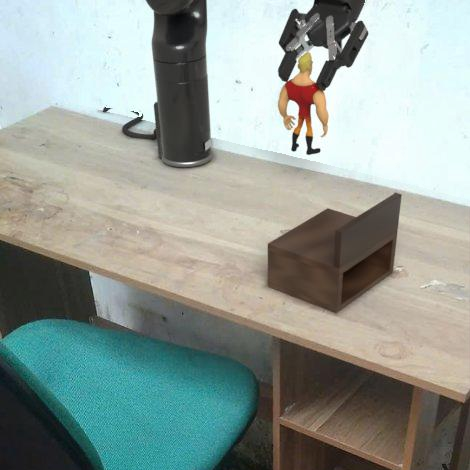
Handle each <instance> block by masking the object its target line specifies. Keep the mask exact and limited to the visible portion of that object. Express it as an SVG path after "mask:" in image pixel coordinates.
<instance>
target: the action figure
mask: <svg viewBox="0 0 470 470" xmlns="http://www.w3.org/2000/svg"><path fill="white" fill-rule="evenodd" d="M312 59H313V58H312V54H311V52H310V51H308V52H307V51H305V52H304V53H303V54H302V55H301V56H300V57H299V58H298V59H297V63H298V64H297V69H298V70H299V72H298V73H297V74H296V75H295V76H294V77H293V78H291V79H289V80H288V81H287V82H285V83H284V84H283V86H282V87H281V89H280V92H279V94H278V95H279V97H278V101H277V108H278V112H279V114H280V116H281V117H282V121H283V125H284V128H285V129H286V130H287V131H292V129H293V131H292V136H291V142H292V143H291V148H290V150H291V152H293V153H294V152H297V149H298V148H299V147H300V144H299V143H297V142H298V139H299V137H300V133H301V130H302V128H303V126H304V123H305V126H306V132H305V143H306V147H307V148H306V151H305V152H306V153H305V154H306V155H307V156H311V155H317V154H320V153H321V148H320V147H316V148H313V147H312V146H313V145H312V144H313V142H314V141H313V139H314V132H313V126H312V114H311V113H312V109H311V108H312V105H313V106H315V114H316V117H317V118H318V120H319V122H320V123H321V126H322V130H323V133H322V135H320V138H324V137H326V135H327V134H328V130H329V126H328V123H329V111H328V109H327V99H326V95H325V91H322V90H319V88H318V87H317V85H316V81H314V80H313V79H312V78H311V75H312V72H313V64H314V61H313V60H312ZM290 101H292V102H294V103H296V105H297V106H298V114H297V117H298V118H296V117H295V116H293V115H288V112H287V111H288V110H287V109H288V104H289V102H290ZM296 119H297V126H296V123H295V122H294V121H296ZM293 120H294V121H293ZM294 126H296V127H294Z"/></svg>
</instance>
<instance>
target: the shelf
mask: <svg viewBox="0 0 470 470" xmlns="http://www.w3.org/2000/svg"><path fill="white" fill-rule="evenodd" d="M402 195H403V194H401V193H398V192H394V193H392V194H391V195H390V196H388V197H386V198H385V199H383V200H382V201H379V203H377V204H375V205H373V206H372V207H370V208H369V209H367V210H365V211H363V212H362V213H361V214H359V215H357V216H354V215H351V214H347V213H345V212H342V211H338V210H335V209H332V208H328V207H327V208H326V209H324V210H322V211H321V212H319V213H317V214H315V215H313V216H312V217H310V218H308V219H306V220H305V221H304V222H302V223H300V224H298V225H297V226H295V227H293V228H292V229H290V230H289V231H287V232H285V233H284V234H281V235H280V236H278V237H277V238H275V239H273V240H272V241H270V242H268V243H267V287H268V288H270V289H273V290H276V291H278V292H281V293H282V294H283V293H284V294H286V295H288V296H292V297H294V298H296V299H299V300H301V301H304V302H307V303H309V304H312V305H314V306H317V307H320V308H322V309H325V310H327V311H330V312H332V313H335V314H337V313H340V311H342V310H343V309H345V308H346V307H347V306H349V305H350V304H351V303H353V302H354V301H356V300H357V299H358V298H360V297H362V296H363V295H364V294H366V293H367V292H369V291H370V290H371V289H372V288H374V287H375V286H377V285H378V284H380V283H381V282H382V281H383V280H385V279H387V278H388V277H389V276H391V275H392V274H393V273H394V266H395V258H396V248H397V239H398V233H399V231H398V229H399V221H400V215H401V214H400V213H401V205H402V197H403V196H402Z"/></svg>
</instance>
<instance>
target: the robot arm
mask: <svg viewBox="0 0 470 470" xmlns="http://www.w3.org/2000/svg"><path fill="white" fill-rule="evenodd" d="M145 2H146V4H147V5H148V7H149V8H150V9H151V10H152V11H153V29H152V36H151V52H152V54H151V55H152V62H153V73H154V82H155V83H154V84H155V93H156V101H155V102H154V104H153V112H154V114H153V115H154V123H155V128H154V129H153V133H152V134H151V133H149V134H148V133H138V132H134V131H132V130H129V128H131V127H132V126H134V125H136V124H138V123H139V122H142V120H143V118H144V114H143V113H142V116H141V117H138V116H139V113H138V112H134V111H130V113H131V112H132V113H133V114H134V115H136V116H137V117H135V118H134V119H132V120H130V121H128V122H126V123H125V124H124V125H123V126H122V128H121V130H122V133H124V134H125V135H126V136H128V137H130V138H134V139H140V140H141V139H143V140H155V139H156V143H157V151H158V158H159V159H161V160H162V163H164V164H165V165H168V166H170V167H173V168H193V167H198V166H202V165H205V164H207V163H209V162H210V161H211V160H212V159H213V149H212V146H213V143H214V141H213V137H212V131H211V130H212V129H211V114H210V93H209V78H208V77H209V76H208V60H207V58H208V57H207V38H208V1H207V0H145ZM364 3H365V4H366V2H365V0H313V5H312V6H311V8H310V9H309V10H308V11H307V12H306V13H303V12H299V10H298V9H297V8H293V9H292V10H291V11H290V13H289V16H288V18H287V21H286V23H285V26H284V28H283V31H282V33H281V35H280V38H279V40H278V45H279V46H280V48H281V49H282V51H283V52H284V54H283V57H282V59H281V61H280V63H279V66H278V69H277V75H278V77H279V79H280V80H281V81H282V82H285V83H286V82H287V81H289V80H290V77H291V75H292V73H293V71H294V69H295V66H296V64H297V63H298V59H299V58H300V57H301V56H303V55H304V54H305V53H306V52H310V51H311V50H312V49H313V48H314V47H316V48H322V47H323V48H324V49H326V50H327V51H328V60H325V61H324V63H323V66H322V68H321V69H320V72H319V74H318V76H317V79H316V81H315V83H316V85H317V87H318V88H319V90H322V91H323V92H325V91H326V89H327V88H329V87H330V86H331V84H332V82H333V80H334V78H335V75H336V73H337V71H338V70H339V69H341V67H346V68H347V69H349V68H351V67H352V66H353V65H354V63H355V61H356V59H357V57H358V55H359V54H360V52H361V50H362V48H363V46H364V44H365V42H366V40H367V38H368V36H369V31H368V28H367V26H366V24H365V23H364V21H363V20H358V19H359V17H360V15H361V13H362V11H363V9H364V6H365V4H364ZM306 36H307V38H308V40H305V38H306ZM348 36H349V37H348ZM346 37H348V38H347V40H346V43H345V44H344V46H343V40H344V39H346ZM111 109H112V108H106V107H105V106H104V107H103V108H102V113H108V111H110V110H111Z"/></svg>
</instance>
